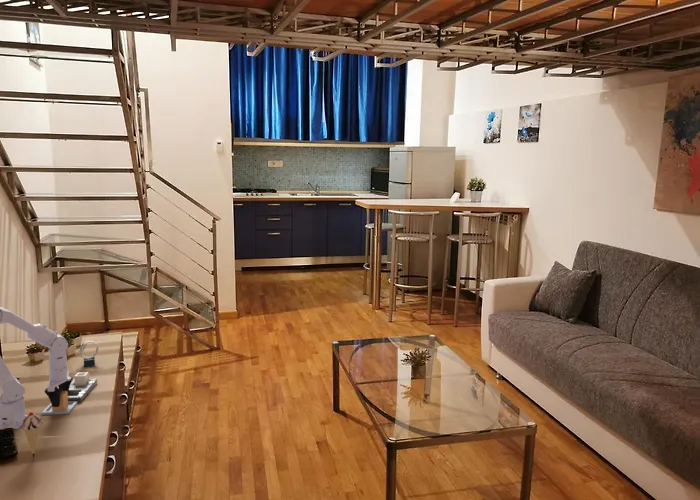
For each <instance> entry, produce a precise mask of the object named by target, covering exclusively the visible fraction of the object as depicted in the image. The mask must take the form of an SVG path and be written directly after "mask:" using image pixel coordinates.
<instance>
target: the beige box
mask: <svg viewBox="0 0 700 500" xmlns="http://www.w3.org/2000/svg"><path fill="white" fill-rule="evenodd" d="M89 375H90V374H89V371H86V372H85V371H83V372H82V371H81V372H80V371H79V372H77V373H76V374H75V375H74V378H73V379H75V385H87V384H88V382H89V379H90V378H89V377H90V376H89Z"/></svg>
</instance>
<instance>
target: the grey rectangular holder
mask: <svg viewBox="0 0 700 500" xmlns="http://www.w3.org/2000/svg"><path fill="white" fill-rule="evenodd" d="M97 385H98V378H96V377H95V378H89V382H88V384H87V385H75V379H74V378H73V380H72V382H71V384H70V388H69V393H68V401H78V403H82V401H83V400H85V398H87V396H88V395H89V393H90V392H91V391H92V390H93V389H94V388H95V387H96V386H97Z"/></svg>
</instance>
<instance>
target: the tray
mask: <svg viewBox="0 0 700 500" xmlns="http://www.w3.org/2000/svg"><path fill="white" fill-rule="evenodd" d="M77 404H79V402H78V401H68V407H67V408H66V409H65V410H64V411H52V404H51V402H50V403H49V405H47V406H46V407H45V408H44V410H42V411H41V415H45V416H46V415H69V414H70V412H71V411H72V410H73V409H74V408H75V407H76V406H77Z"/></svg>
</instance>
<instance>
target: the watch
mask: <svg viewBox="0 0 700 500" xmlns="http://www.w3.org/2000/svg"><path fill="white" fill-rule="evenodd" d="M88 344H94V345H95V346H96V349H95V351H94V353H93V354H92V355H87V356H85V355H83V354H82V353H83V352H84V351H85V349H86V347H87V345H88ZM98 351H99V345H98V343H97V342H96V341H94V340H92V339H91V340H86V341H83V342H82V343H81V344H80V347H79V349H78V353H79V356H80V357H81V358H83V368H89V367H95V366H96V365H95V364H96V362H95V361H96V360H95V357H96V355H97V354H98Z"/></svg>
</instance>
